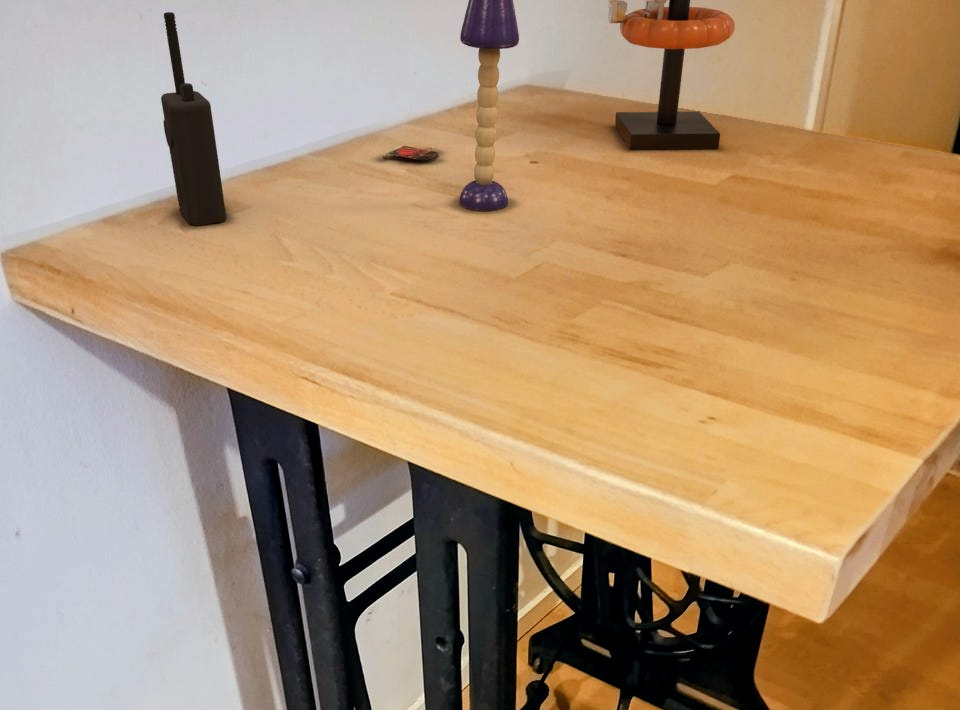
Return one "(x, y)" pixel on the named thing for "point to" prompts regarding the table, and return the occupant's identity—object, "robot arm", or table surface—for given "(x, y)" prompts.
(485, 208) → the toy lamp
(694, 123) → the stand
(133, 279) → the table surface
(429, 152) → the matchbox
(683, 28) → the ring
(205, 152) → the walkie-talkie
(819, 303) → the table surface
